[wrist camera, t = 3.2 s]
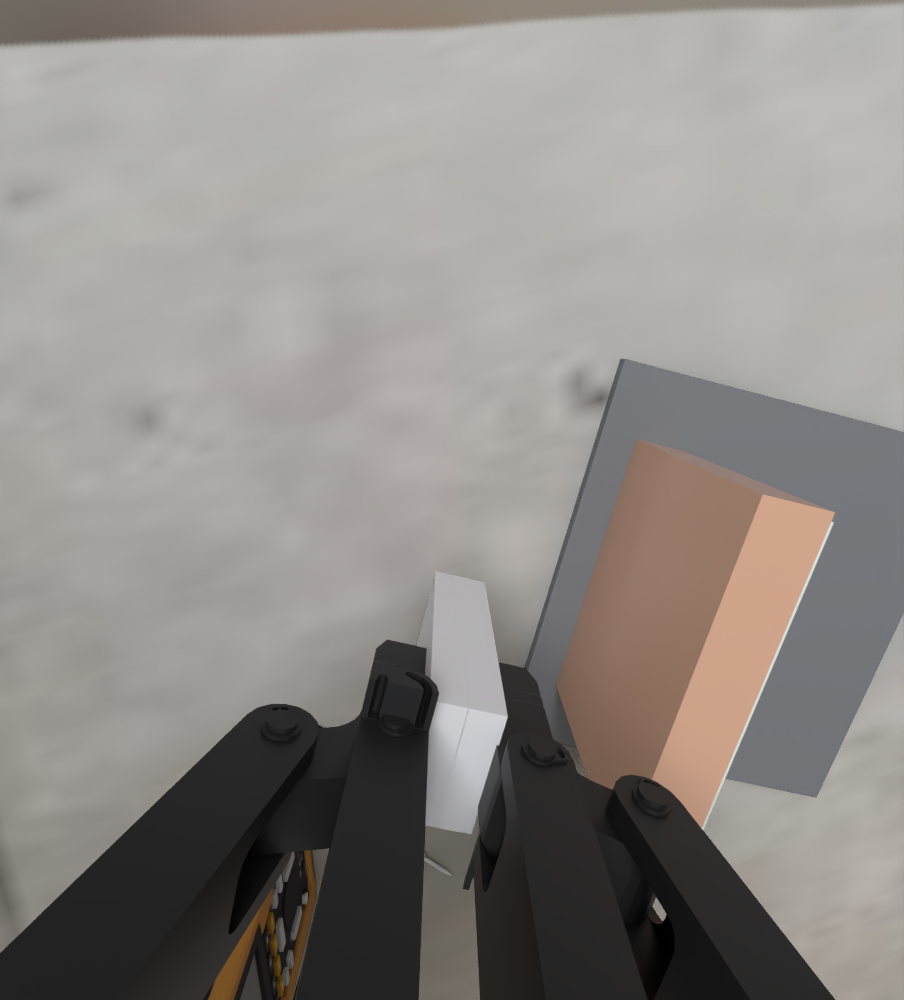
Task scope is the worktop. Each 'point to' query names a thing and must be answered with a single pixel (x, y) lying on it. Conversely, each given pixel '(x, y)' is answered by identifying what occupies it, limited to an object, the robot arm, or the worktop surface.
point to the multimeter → (274, 939)
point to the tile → (684, 621)
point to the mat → (833, 584)
